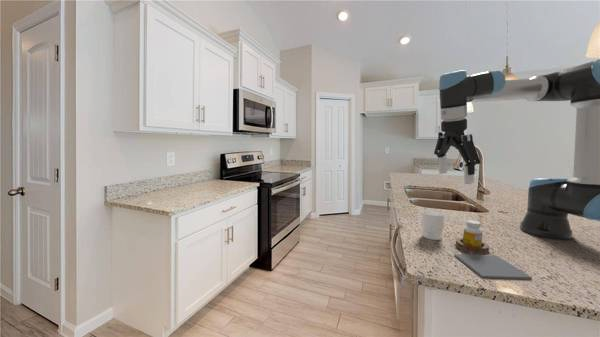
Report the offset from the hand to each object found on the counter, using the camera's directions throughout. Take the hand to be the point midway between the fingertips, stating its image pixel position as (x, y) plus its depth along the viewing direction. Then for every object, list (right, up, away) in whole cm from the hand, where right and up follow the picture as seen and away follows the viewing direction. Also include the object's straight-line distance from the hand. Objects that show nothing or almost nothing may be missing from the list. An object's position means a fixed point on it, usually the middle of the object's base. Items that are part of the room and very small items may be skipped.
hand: (455, 177), depth 86 cm
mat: (+1, -26, -14) cm, 30 cm away
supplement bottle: (+5, -25, -2) cm, 26 cm away
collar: (+5, -25, -2) cm, 26 cm away
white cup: (-4, -24, +9) cm, 26 cm away
